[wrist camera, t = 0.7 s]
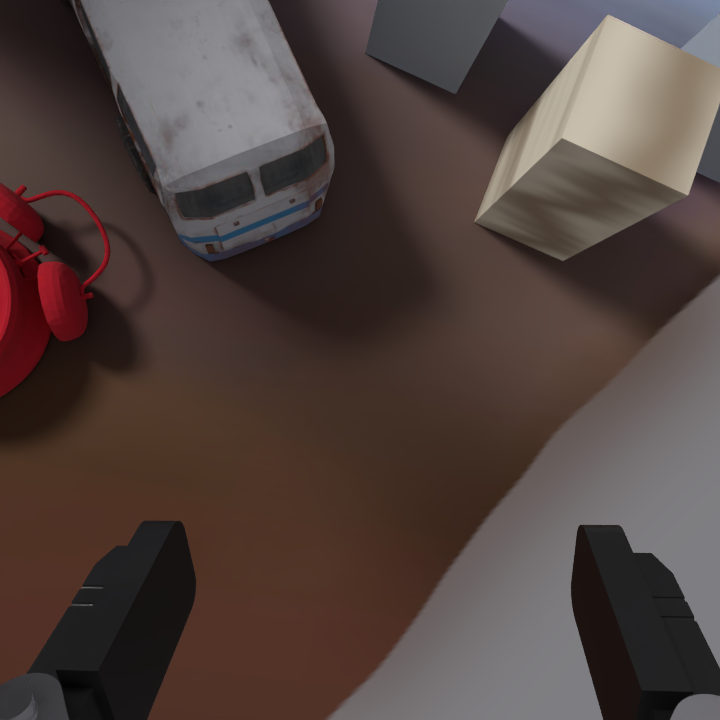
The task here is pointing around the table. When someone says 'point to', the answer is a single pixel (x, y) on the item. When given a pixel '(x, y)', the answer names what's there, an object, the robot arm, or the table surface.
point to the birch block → (603, 143)
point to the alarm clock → (36, 290)
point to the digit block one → (716, 47)
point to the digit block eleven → (432, 36)
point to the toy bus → (213, 116)
